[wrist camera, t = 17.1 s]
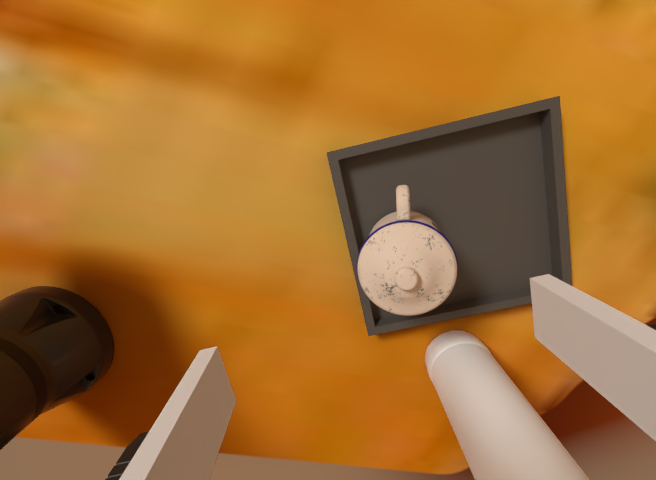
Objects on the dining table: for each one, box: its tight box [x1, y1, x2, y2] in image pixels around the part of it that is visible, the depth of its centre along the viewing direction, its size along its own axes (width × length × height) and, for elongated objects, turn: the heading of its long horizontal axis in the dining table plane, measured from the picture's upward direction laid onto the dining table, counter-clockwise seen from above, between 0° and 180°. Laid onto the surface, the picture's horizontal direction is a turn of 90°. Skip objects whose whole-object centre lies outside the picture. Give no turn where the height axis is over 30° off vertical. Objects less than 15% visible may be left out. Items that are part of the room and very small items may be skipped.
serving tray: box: [327, 96, 572, 336], centre depth 39 cm, size 24×22×2 cm
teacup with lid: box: [357, 185, 458, 316], centre depth 33 cm, size 12×9×12 cm
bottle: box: [425, 330, 590, 480], centre depth 30 cm, size 8×8×30 cm
